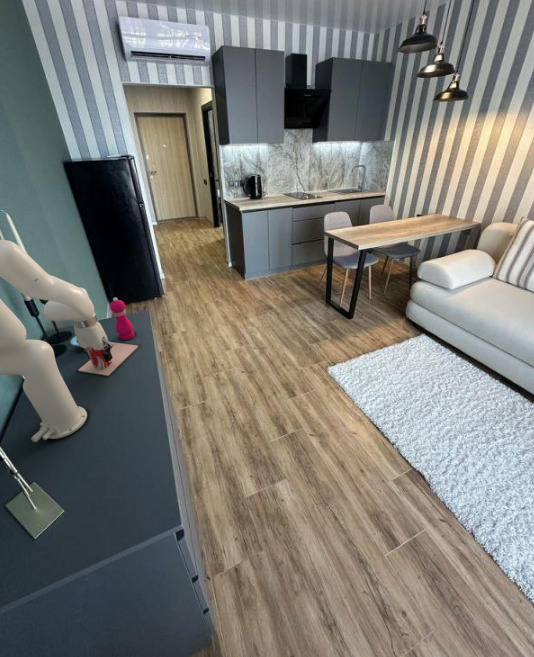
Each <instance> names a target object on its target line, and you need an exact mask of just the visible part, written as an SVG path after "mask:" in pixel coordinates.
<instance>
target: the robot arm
mask: <svg viewBox="0 0 534 657" xmlns="http://www.w3.org/2000/svg"><path fill="white" fill-rule="evenodd" d="M0 278H2V279H3V280H4V281H5V282H7V283H8V284H10V285H11V286H12V287H13V288H15V289H16V290H17V291H19V293H21V294H23V295H24V296H27V297H30V298H34V299H38V300H42V301H47V302H46V303H45V304H44V306H43V310H42V311H43V316H44V317H45V318H46V319H47V320H49V321H51V322H72V323H73V330H74V334H75V336H76V338H77V340H76V342H77V343H78V344H79V345H80V348H82V349H83V351H84V352H85V354H86V356H87V358H88V361H89V360H90V357H89V355H88V353H87V350H86V347H87V346H90V347H92V348H93V349H94V350H101V351H102V352H103V353H104V354H103V356H104V358H105V361H106V362H109V361H110V360H111V359H112V358H113V357H112V354H111V352H110V351H111V349H112V347H113V346H114V344H113V343H111V342H112V341H110V340H109V339H108V336H107V333H106V332H105V330H104V328H103V326H102V325H101V323H100V321H99V320H98V317H97V315H96V312H95V306H94V304H93V302H92V300H91V298H90V296H89V293H88V291H87V290H86V289H85V288H83V287H80V286H76V285H74V284H73V283H71V282H68V281H66V280H64V279H61V278H59V277H56V276H54V275H51V274H49V273H48V272H47V271H45V269H43V268H42V267H41V266H40V265H39V264H38V263H37V262H36V261H35V260H34V259H33V258H32V257H31V256H30V255H29V254H28V253H27V252H26V251H25V250H24V249H23V248H22V247H20V245H18V244H17V243H15V242H13V241H11V240H7V239H0ZM26 338H27V329H26V327H25V325H24V323H22V321H21V320H20V318H18V317H17V315H15V313H14V312H13V311H12V310H11V309H10V308H9V307H8V306H7V304H6V303H5V302H4V301H3V300H2V298H0V376H22V377H23V378H24V381H23V383H22V389H23V392H24V395H25V396H26V397H27V399H28V400H29V403H31V405H32V406H33V408H34V410H35V412H36V413H37V415H38V416H39V418H40V419H41V422H40V423H39V426H40V428H39V429H38V431H37V432H36V433H35V434H34V435H33V436H31V437H30V440H31V441H32V442H34V443H38V441H39V440H40V439H41V438H42V439H43V440H44V441H46V440H48V439H52V440H58V439H61V438H65V437H68V436H69V435H72V434H74V433H75V432H76V431H78V430H79V429H80V428H81V427H82V426H84V424H85V422H86V421H87V418H88V412H87V411H86V409H85V408H84V407H82V406H78V405H77V403H76V401H75V400H74V397H73V395H72V394H71V392H70V390H69V388H68V385H67V384H66V382H65V380H64V378H63V376H62V374H61V372H60V370H59V367H58V364H57V361H56V356H55V351H54V349H53V347H52V346H51V345H50V344H49V343H48V342H46V341H45V340H41V339H30V338H29V339H26ZM103 343H104V344H105V345H103ZM104 347H106V350H105V349H104Z"/></svg>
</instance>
